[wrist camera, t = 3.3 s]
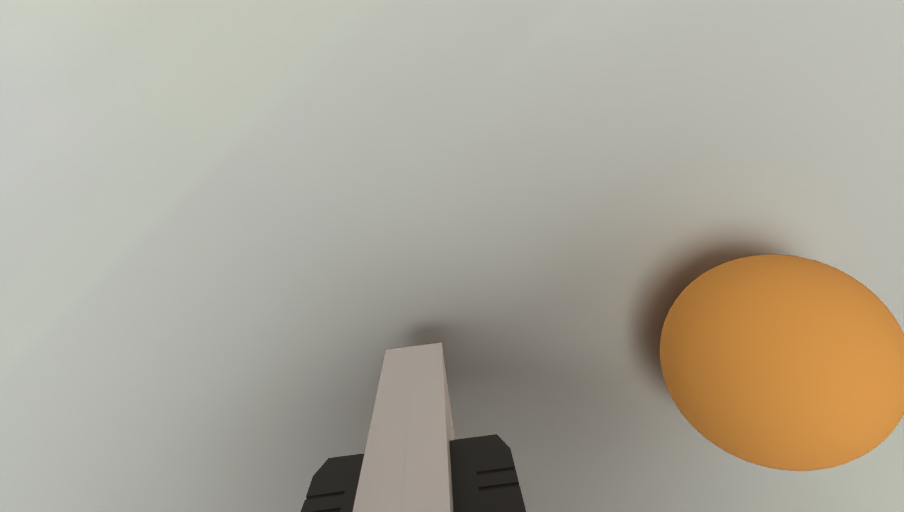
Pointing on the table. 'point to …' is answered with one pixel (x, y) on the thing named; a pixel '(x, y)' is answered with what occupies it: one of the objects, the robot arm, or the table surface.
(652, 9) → the table surface
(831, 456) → the ball
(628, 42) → the table surface
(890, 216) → the table surface
